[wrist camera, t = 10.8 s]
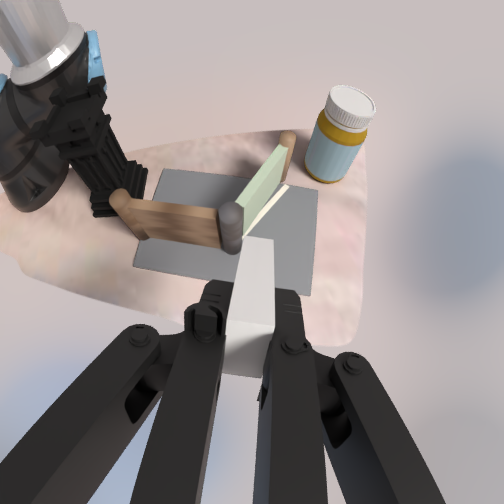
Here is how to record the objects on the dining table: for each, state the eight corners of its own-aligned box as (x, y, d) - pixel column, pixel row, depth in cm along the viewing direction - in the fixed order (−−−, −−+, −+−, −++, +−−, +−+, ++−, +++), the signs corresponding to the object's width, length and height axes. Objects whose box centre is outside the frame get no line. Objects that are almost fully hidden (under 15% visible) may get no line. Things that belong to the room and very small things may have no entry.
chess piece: (95, 217, 38) (24, 137, 19) (105, 174, 41) (52, 88, 22) (140, 215, 38) (82, 120, 20) (148, 170, 41) (107, 72, 22)
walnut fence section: (134, 239, 37) (106, 206, 27) (139, 223, 38) (113, 187, 28) (240, 256, 37) (240, 224, 27) (243, 239, 38) (244, 203, 28)
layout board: (134, 266, 36) (132, 265, 35) (164, 169, 41) (163, 168, 41) (309, 296, 36) (310, 295, 35) (317, 191, 41) (318, 189, 41)
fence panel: (245, 237, 37) (247, 204, 28) (232, 230, 37) (231, 195, 28) (287, 175, 40) (299, 135, 32) (276, 169, 40) (284, 128, 32)
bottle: (317, 190, 41) (349, 123, 27) (295, 157, 43) (315, 86, 29) (352, 178, 42) (389, 115, 28) (329, 146, 44) (356, 81, 30)
